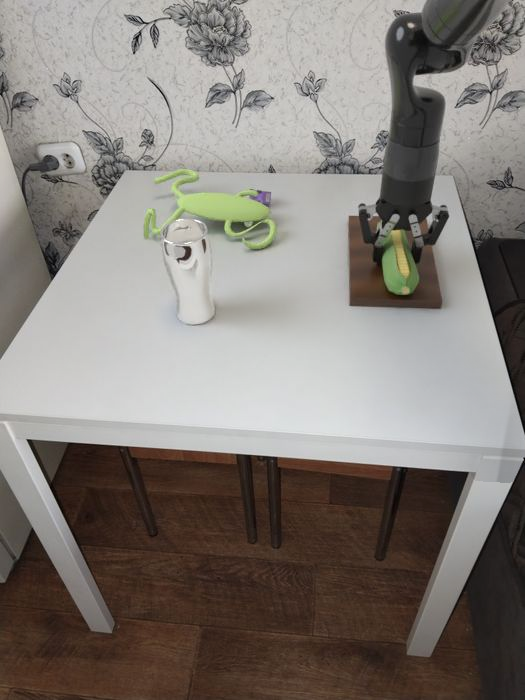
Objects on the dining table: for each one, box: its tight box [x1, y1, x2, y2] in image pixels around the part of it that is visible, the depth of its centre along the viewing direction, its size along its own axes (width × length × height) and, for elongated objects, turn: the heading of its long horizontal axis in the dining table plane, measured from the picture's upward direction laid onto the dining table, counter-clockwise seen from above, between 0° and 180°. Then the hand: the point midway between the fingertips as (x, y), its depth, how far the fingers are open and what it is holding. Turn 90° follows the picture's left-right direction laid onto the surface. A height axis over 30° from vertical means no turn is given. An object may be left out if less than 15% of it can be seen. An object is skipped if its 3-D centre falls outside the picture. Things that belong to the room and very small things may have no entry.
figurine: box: [143, 168, 278, 250], centre depth 110 cm, size 18×27×6 cm
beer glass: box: [160, 217, 216, 326], centre depth 87 cm, size 7×7×15 cm
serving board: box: [347, 215, 443, 310], centre depth 100 cm, size 24×14×2 cm, turn 174°
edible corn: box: [377, 222, 419, 295], centre depth 95 cm, size 5×20×5 cm, turn 178°
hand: (395, 262), depth 97 cm, fingers closed on edible corn, 5 cm apart
